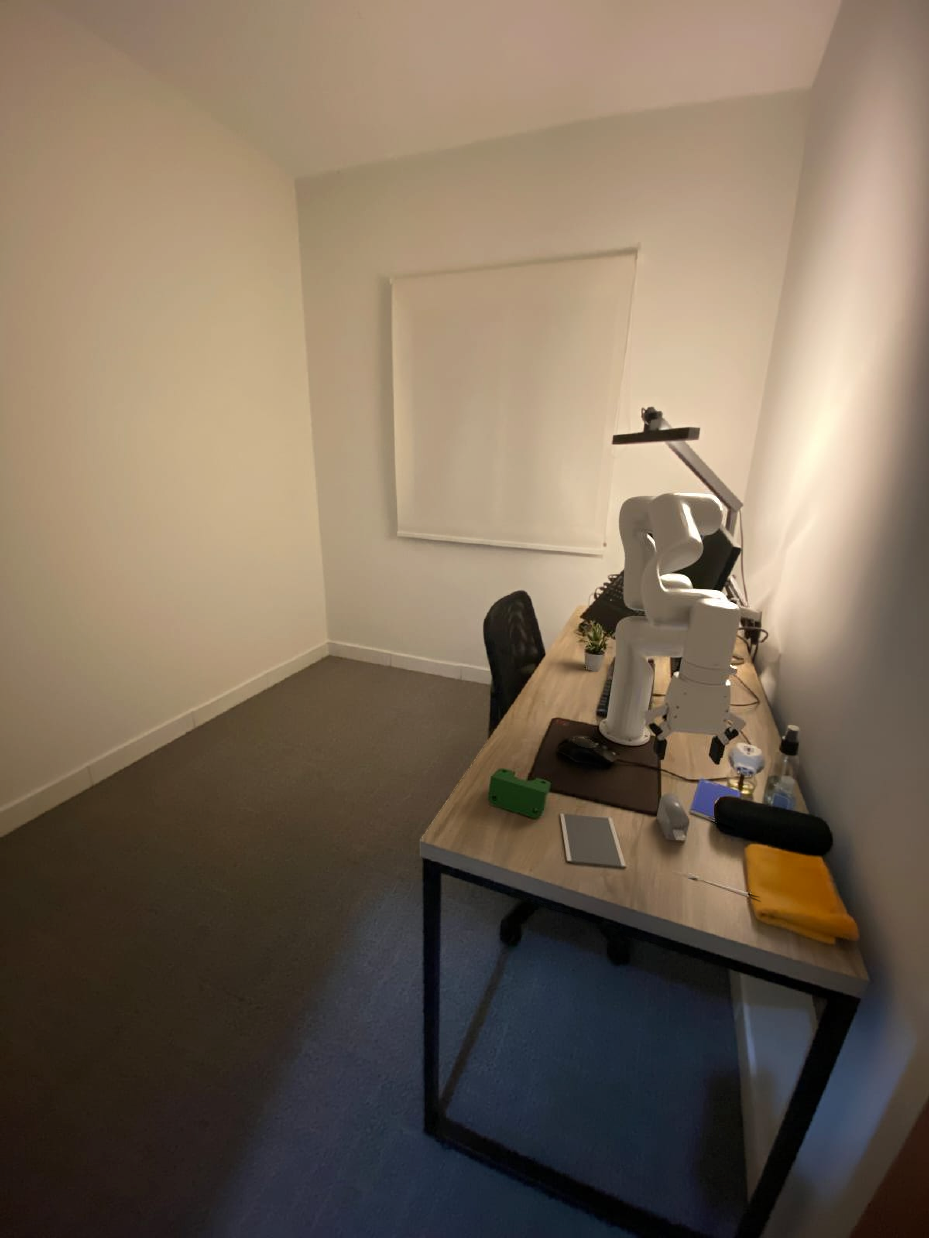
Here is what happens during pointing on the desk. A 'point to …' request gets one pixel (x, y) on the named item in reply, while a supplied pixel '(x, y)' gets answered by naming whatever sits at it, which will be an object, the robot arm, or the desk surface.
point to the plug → (672, 818)
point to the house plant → (594, 649)
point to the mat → (591, 841)
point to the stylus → (713, 884)
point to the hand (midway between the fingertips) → (686, 758)
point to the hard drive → (709, 797)
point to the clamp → (518, 793)
